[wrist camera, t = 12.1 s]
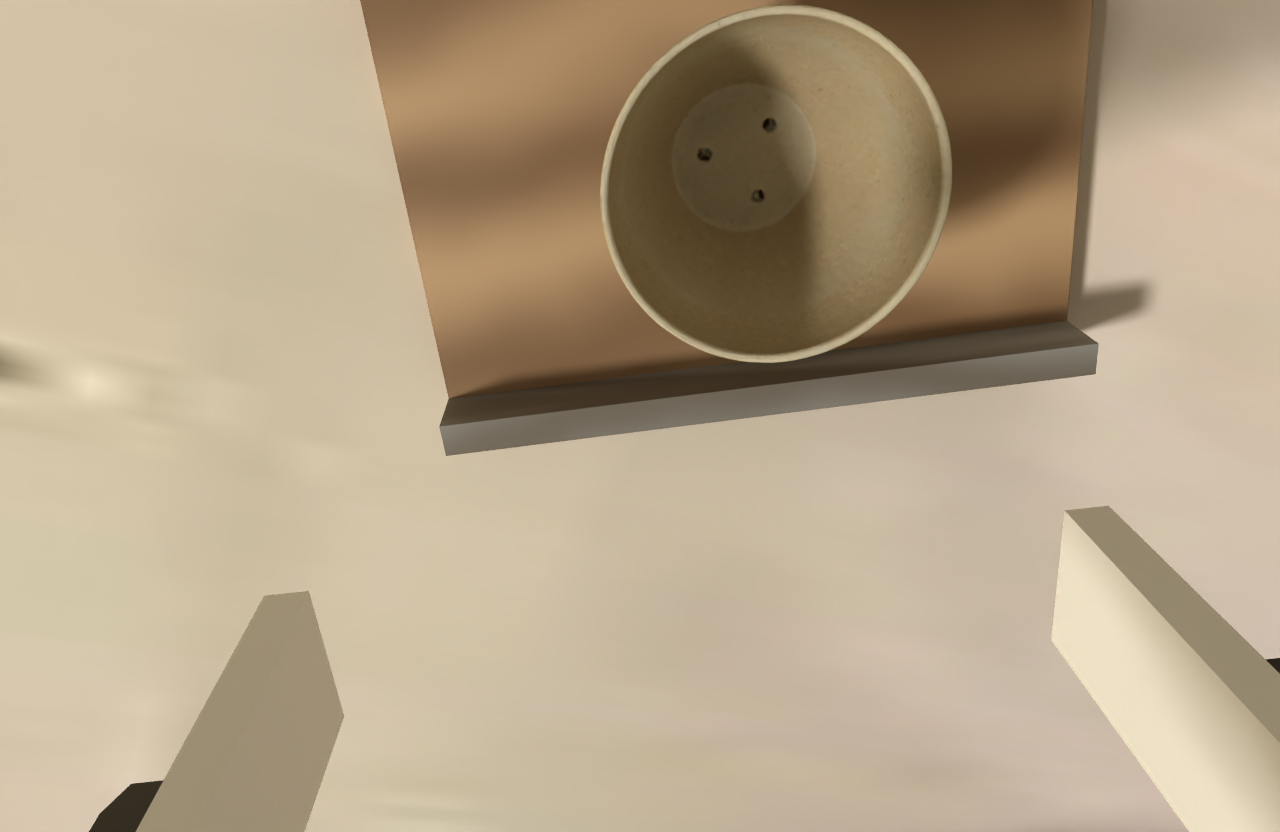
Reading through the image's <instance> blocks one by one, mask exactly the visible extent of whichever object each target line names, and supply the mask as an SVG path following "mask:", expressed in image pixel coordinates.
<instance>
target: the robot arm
mask: <svg viewBox="0 0 1280 832" xmlns="http://www.w3.org/2000/svg"><path fill="white" fill-rule="evenodd" d="M1051 640H1052V642H1053V643H1054V644H1055V646H1056V647H1057V649H1058V650H1059V651H1060V653H1061V654H1062V656H1063V657H1064V658H1065V660H1066V661H1067V663H1068V664H1069V665H1070V667H1071V668H1072V669H1073V671H1074V672H1075V674H1076V675H1077V676H1078V678H1079V679H1080V681H1081V682H1082V683H1083V685H1084V686H1085V688H1086V689H1087V690H1088V692H1089V693H1090V695H1091V696H1092V697H1093V699H1094V700H1095V702H1096V703H1097V704H1098V706H1099V707H1100V708H1101V710H1102V711H1103V713H1104V714H1105V715H1106V717H1107V718H1108V720H1109V721H1110V722H1111V724H1112V725H1113V727H1114V728H1115V729H1116V731H1117V732H1118V734H1119V735H1120V736H1121V738H1122V739H1123V741H1124V742H1125V743H1126V745H1127V746H1128V747H1129V749H1130V750H1131V752H1132V753H1133V754H1134V756H1135V757H1136V759H1137V760H1138V761H1139V763H1140V764H1141V766H1142V767H1143V768H1144V770H1145V771H1146V773H1147V774H1148V775H1149V777H1150V778H1151V779H1152V781H1153V782H1154V784H1155V785H1156V786H1157V788H1158V789H1159V791H1160V792H1161V793H1162V795H1163V796H1164V798H1165V799H1166V800H1167V802H1168V803H1169V805H1170V806H1171V807H1172V809H1173V810H1174V812H1175V813H1176V814H1177V816H1178V817H1179V818H1180V820H1181V821H1182V823H1183V824H1184V825H1185V827H1186V828H1187V830H1188V831H1189V832H1280V658H1276V659H1267V660H1265V659H1264V658H1263V657H1262V656H1261V655H1260V654H1259V653H1258V652H1257V651H1256V650H1255V649H1254V648H1253V647H1252V646H1251V645H1250V644H1249V643H1248V642H1247V641H1246V640H1245V639H1244V638H1243V637H1242V636H1241V635H1240V634H1239V633H1238V632H1237V631H1236V630H1235V629H1234V628H1233V627H1232V626H1231V625H1230V624H1229V623H1228V622H1227V621H1226V620H1224V619H1223V618H1222V617H1221V616H1220V615H1219V614H1218V613H1217V612H1216V611H1215V610H1214V609H1213V608H1212V607H1211V606H1210V605H1209V604H1208V603H1207V602H1206V601H1205V600H1204V599H1203V598H1202V597H1201V596H1200V595H1199V594H1198V593H1197V592H1196V591H1195V590H1194V589H1193V588H1192V587H1191V586H1190V585H1189V584H1188V583H1187V582H1186V581H1185V580H1184V579H1183V578H1182V577H1181V576H1180V575H1179V574H1178V573H1177V572H1176V571H1174V570H1173V569H1172V568H1171V567H1170V566H1169V565H1168V564H1167V563H1166V562H1165V561H1164V560H1163V559H1162V558H1161V557H1160V556H1159V555H1158V554H1157V553H1156V552H1155V551H1154V550H1153V549H1152V548H1151V547H1150V546H1149V545H1148V544H1147V543H1146V542H1145V541H1144V540H1143V539H1142V538H1141V537H1140V536H1139V535H1138V534H1137V533H1136V532H1135V531H1134V530H1133V529H1132V528H1131V527H1130V526H1129V525H1128V524H1127V523H1125V522H1124V521H1123V520H1122V519H1121V518H1120V517H1119V516H1118V515H1117V514H1116V513H1115V512H1114V511H1113V510H1112V509H1111V508H1110V507H1109V506H1103V507H1094V508H1084V509H1075V510H1066V511H1065V512H1064V522H1063V532H1062V541H1061V551H1060V561H1059V571H1058V580H1057V590H1056V600H1055V609H1054V619H1053V629H1052V639H1051ZM343 718H344V714H343V711H342V707H341V703H340V700H339V696H338V693H337V689H336V686H335V682H334V679H333V675H332V672H331V668H330V665H329V661H328V658H327V654H326V651H325V647H324V644H323V640H322V637H321V633H320V630H319V626H318V622H317V619H316V615H315V612H314V608H313V605H312V601H311V598H310V594H309V591H306V592H296V593H287V594H277V595H268V596H264V597H263V599H262V601H261V603H260V605H259V607H258V608H257V610H256V612H255V614H254V616H253V618H252V619H251V621H250V623H249V625H248V627H247V628H246V630H245V632H244V634H243V636H242V638H241V639H240V641H239V643H238V645H237V647H236V649H235V650H234V652H233V654H232V656H231V658H230V660H229V661H228V663H227V665H226V667H225V669H224V671H223V672H222V674H221V676H220V678H219V680H218V682H217V683H216V685H215V687H214V689H213V691H212V693H211V694H210V696H209V698H208V700H207V702H206V704H205V705H204V707H203V709H202V711H201V713H200V715H199V716H198V718H197V720H196V722H195V724H194V726H193V727H192V729H191V731H190V733H189V735H188V737H187V738H186V740H185V742H184V744H183V746H182V748H181V749H180V751H179V753H178V755H177V757H176V759H175V760H174V762H173V764H172V766H171V768H170V770H169V771H168V773H167V775H166V777H165V779H164V780H163V781H154V782H145V783H135V784H131V785H130V786H129V787H127V788H126V789H125V790H124V791H123V792H122V793H121V794H120V795H119V796H118V797H117V798H116V799H115V800H114V801H113V802H112V803H111V804H110V805H109V806H108V807H106V808H105V809H104V810H103V811H102V812H101V813H100V814H99V816H98V818H97V819H96V821H95V823H94V824H93V826H92V828H91V829H90V831H89V832H304V831H305V828H306V825H307V822H308V820H309V817H310V814H311V811H312V808H313V805H314V802H315V799H316V796H317V793H318V790H319V788H320V785H321V782H322V779H323V776H324V773H325V770H326V767H327V764H328V761H329V758H330V755H331V753H332V750H333V747H334V744H335V741H336V738H337V735H338V732H339V729H340V726H341V723H342V720H343Z"/></svg>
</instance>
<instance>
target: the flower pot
mask: <svg viewBox="0 0 1280 832" xmlns="http://www.w3.org/2000/svg"><path fill="white" fill-rule="evenodd" d="M766 119H769V124H768V125H767V127H765V128H763V123H764V121H765V120H766ZM701 156H707V157H709V159H708V160H706V161H704V160H701V159H700V157H701ZM951 189H952V156H951V146H950V140H949V136H948V130H947V127H946V123H945V120H944V117H943V114H942V111H941V108H940V106H939V103H938V101H937V99H936V97H935V95H934V93H933V91H932V89H931V87H930V85H929V84H928V82H927V81H926V79H925V77H924V76H923V74H922V73H921V72H920V70H919V69H918V68H917V66H916V65H915V64H914V62H913V61H912V60H911V59H910V58H909V57H908V55H907V54H906V53H905V52H904V51H903V50H902V49H901V48H899V47H898V46H897V45H896V44H895V43H893V42H892V41H891V40H890V39H888V38H887V37H886V36H885V35H883V34H882V33H880V32H879V31H877V30H876V29H874V28H872V27H871V26H869V25H867V24H865V23H863V22H862V21H860V20H857V19H855V18H853V17H850V16H848V15H845V14H843V13H840V12H837V11H833V10H829V9H825V8H820V7H814V6H808V5H792V4H781V5H770V6H762V7H757V8H752V9H747V10H743V11H740V12H736V13H733V14H731V15H728V16H725V17H722V18H720V19H717V20H715V21H713V22H711V23H709V24H707V25H705V26H703V27H701V28H699V29H697V30H696V31H694V32H693V33H691V34H689V35H688V36H687V37H685V38H684V39H682V40H681V41H680V42H678V43H677V44H676V45H674V46H673V47H672V48H671V49H669V50H668V51H667V52H666V53H665V54H664V55H663V56H661V57H660V58H659V59H658V60H657V61H656V62H655V63H654V64H653V65H652V66H651V67H650V68H649V70H648V71H647V72H646V73H645V75H644V76H643V77H642V79H641V80H640V81H639V82H638V84H637V85H636V87H635V88H634V90H633V91H632V93H631V94H630V96H629V97H628V99H627V101H626V102H625V104H624V106H623V108H622V109H621V111H620V113H619V116H618V118H617V120H616V122H615V124H614V127H613V130H612V133H611V135H610V138H609V141H608V145H607V148H606V152H605V156H604V161H603V168H602V175H601V187H600V205H601V216H602V223H603V229H604V234H605V238H606V242H607V245H608V248H609V252H610V255H611V257H612V260H613V262H614V265H615V267H616V269H617V271H618V273H619V275H620V277H621V279H622V281H623V282H624V284H625V286H626V287H627V289H628V291H629V292H630V294H631V295H632V296H633V298H634V299H635V300H636V301H637V303H638V304H639V305H640V306H641V307H642V309H643V310H644V311H645V312H646V313H647V314H648V315H649V316H650V317H651V318H652V319H653V320H654V321H655V322H656V323H657V324H659V325H660V326H661V327H663V328H664V329H665V330H667V331H668V332H670V333H671V334H673V335H674V336H675V337H677V338H679V339H680V340H682V341H684V342H686V343H687V344H689V345H691V346H693V347H695V348H697V349H700V350H702V351H704V352H707V353H710V354H713V355H716V356H720V357H724V358H728V359H732V360H737V361H744V362H761V363H776V362H786V361H792V360H798V359H803V358H807V357H811V356H814V355H818V354H821V353H824V352H827V351H829V350H832V349H834V348H836V347H838V346H841V345H843V344H845V343H847V342H849V341H851V340H853V339H855V338H857V337H858V336H860V335H861V334H863V333H864V332H866V331H867V330H869V329H870V328H871V327H873V326H874V325H875V324H876V323H878V322H879V321H880V320H882V319H883V318H884V317H886V316H887V315H888V314H889V313H890V312H891V311H892V310H893V309H894V308H895V307H896V306H897V305H898V304H899V303H900V302H901V301H902V300H903V299H904V297H905V296H906V295H907V294H908V293H909V291H910V290H911V289H912V288H913V286H914V285H915V283H916V282H917V280H918V279H919V277H920V276H921V274H922V273H923V271H924V270H925V268H926V266H927V265H928V263H929V261H930V259H931V257H932V255H933V253H934V251H935V249H936V246H937V244H938V242H939V239H940V236H941V233H942V231H943V228H944V224H945V221H946V216H947V213H948V208H949V202H950V196H951ZM760 190H761V191H762V193H763V198H760V197H759V195H758V193H759V191H760Z"/></svg>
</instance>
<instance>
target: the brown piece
mask: <svg viewBox="0 0 1280 832" xmlns="http://www.w3.org/2000/svg"><path fill="white" fill-rule="evenodd" d="M360 1H361V5H362V10H363V14H364V19H365V23H366V28H367V32H368V37H369V41H370V46H371V50H372V55H373V59H374V64H375V68H376V73H377V77H378V82H379V86H380V91H381V95H382V100H383V104H384V109H385V113H386V118H387V122H388V127H389V131H390V136H391V140H392V145H393V149H394V154H395V158H396V163H397V167H398V172H399V176H400V181H401V185H402V190H403V194H404V199H405V203H406V208H407V213H408V217H409V222H410V226H411V231H412V235H413V240H414V244H415V249H416V253H417V258H418V262H419V267H420V271H421V276H422V280H423V285H424V289H425V294H426V298H427V303H428V307H429V312H430V316H431V321H432V325H433V330H434V334H435V339H436V343H437V348H438V352H439V357H440V361H441V366H442V370H443V375H444V379H445V384H446V388H447V393H448V397H449V400H448V403H447V406H446V409H445V412H444V415H443V418H442V421H441V424H440V431H441V435H442V440H443V444H444V448H445V453H446V456H448V455H456V454H464V453H472V452H480V451H488V450H496V449H504V448H512V447H520V446H528V445H536V444H544V443H552V442H560V441H568V440H576V439H583V438H591V437H599V436H607V435H615V434H623V433H631V432H639V431H647V430H655V429H663V428H671V427H679V426H687V425H695V424H703V423H711V422H719V421H727V420H735V419H743V418H750V417H758V416H766V415H774V414H782V413H790V412H798V411H806V410H814V409H822V408H830V407H838V406H846V405H854V404H862V403H870V402H878V401H886V400H894V399H902V398H910V397H917V396H925V395H933V394H941V393H949V392H957V391H965V390H973V389H981V388H989V387H997V386H1005V385H1013V384H1021V383H1029V382H1037V381H1045V380H1053V379H1061V378H1069V377H1077V376H1084V375H1092V374H1096V364H1097V354H1098V343H1097V342H1096V341H1094V340H1093V339H1091V338H1090V337H1089V336H1087V335H1086V334H1084V333H1083V332H1082V331H1080V330H1079V329H1078V328H1076V327H1075V326H1073V325H1072V324H1071V323H1069V322H1068V321H1067V312H1068V300H1069V287H1070V275H1071V263H1072V251H1073V238H1074V226H1075V214H1076V201H1077V189H1078V177H1079V165H1080V152H1081V140H1082V128H1083V116H1084V103H1085V91H1086V79H1087V67H1088V54H1089V42H1090V30H1091V18H1092V5H1093V0H360ZM781 4H792V5H808V6H814V7H820V8H825V9H829V10H833V11H837V12H840V13H843V14H845V15H848V16H850V17H853V18H855V19H857V20H860V21H862V22H863V23H865V24H867V25H869V26H871V27H872V28H874V29H876V30H877V31H879V32H880V33H882V34H883V35H885V36H886V37H887V38H888V39H890V40H891V41H892V42H893V43H895V44H896V45H897V46H898V47H899V48H901V49H902V50H903V51H904V52H905V53H906V54H907V55H908V57H909V58H910V59H911V60H912V61H913V62H914V64H915V65H916V66H917V68H918V69H919V70H920V72H921V73H922V74H923V76H924V77H925V79H926V81H927V82H928V84H929V85H930V87H931V89H932V91H933V93H934V95H935V97H936V99H937V101H938V103H939V106H940V108H941V111H942V114H943V117H944V120H945V123H946V127H947V130H948V136H949V140H950V146H951V156H952V189H951V196H950V202H949V208H948V213H947V216H946V221H945V224H944V228H943V231H942V233H941V236H940V239H939V242H938V244H937V246H936V249H935V251H934V253H933V255H932V257H931V259H930V261H929V263H928V265H927V266H926V268H925V270H924V271H923V273H922V274H921V276H920V277H919V279H918V280H917V282H916V283H915V285H914V286H913V288H912V289H911V290H910V291H909V293H908V294H907V295H906V296H905V297H904V299H903V300H902V301H901V302H900V303H899V304H898V305H897V306H896V307H895V308H894V309H893V310H892V311H891V312H890V313H889V314H888V315H887V316H886V317H884V318H883V319H882V320H880V321H879V322H878V323H876V324H875V325H874V326H873V327H871V328H870V329H869V330H867V331H866V332H864V333H863V334H861V335H860V336H858V337H857V338H855V339H853V340H851V341H849V342H847V343H845V344H843V345H841V346H838V347H836V348H834V349H832V350H829V351H827V352H824V353H821V354H818V355H814V356H811V357H807V358H803V359H798V360H792V361H786V362H776V363H761V362H744V361H737V360H732V359H728V358H724V357H720V356H716V355H713V354H710V353H707V352H704V351H702V350H700V349H697V348H695V347H693V346H691V345H689V344H687V343H686V342H684V341H682V340H680V339H679V338H677V337H675V336H674V335H673V334H671V333H670V332H668V331H667V330H665V329H664V328H663V327H661V326H660V325H659V324H657V323H656V322H655V321H654V320H653V319H652V318H651V317H650V316H649V315H648V314H647V313H646V312H645V311H644V310H643V309H642V307H641V306H640V305H639V304H638V303H637V301H636V300H635V299H634V298H633V296H632V295H631V294H630V292H629V291H628V289H627V287H626V286H625V284H624V282H623V281H622V279H621V277H620V275H619V273H618V271H617V269H616V267H615V265H614V262H613V260H612V257H611V255H610V252H609V248H608V245H607V242H606V238H605V234H604V229H603V223H602V216H601V205H600V187H601V175H602V168H603V161H604V156H605V152H606V148H607V145H608V141H609V138H610V135H611V133H612V130H613V127H614V124H615V122H616V120H617V118H618V116H619V113H620V111H621V109H622V108H623V106H624V104H625V102H626V101H627V99H628V97H629V96H630V94H631V93H632V91H633V90H634V88H635V87H636V85H637V84H638V82H639V81H640V80H641V79H642V77H643V76H644V75H645V73H646V72H647V71H648V70H649V68H650V67H651V66H652V65H653V64H654V63H655V62H656V61H657V60H658V59H659V58H660V57H661V56H663V55H664V54H665V53H666V52H667V51H668V50H669V49H671V48H672V47H673V46H674V45H676V44H677V43H678V42H680V41H681V40H682V39H684V38H685V37H687V36H688V35H689V34H691V33H693V32H694V31H696V30H697V29H699V28H701V27H703V26H705V25H707V24H709V23H711V22H713V21H715V20H717V19H720V18H722V17H725V16H728V15H731V14H733V13H736V12H740V11H743V10H747V9H752V8H757V7H762V6H770V5H781ZM768 124H769V119H766V120H765V121H764V123H763V128H765V127H767V125H768ZM700 159H701V160H704V161H706V160H708V159H709V157H707V156H701V157H700ZM758 195H759V197H760V198H763V193H762V191H761V190H760V191H759V193H758Z"/></svg>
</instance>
